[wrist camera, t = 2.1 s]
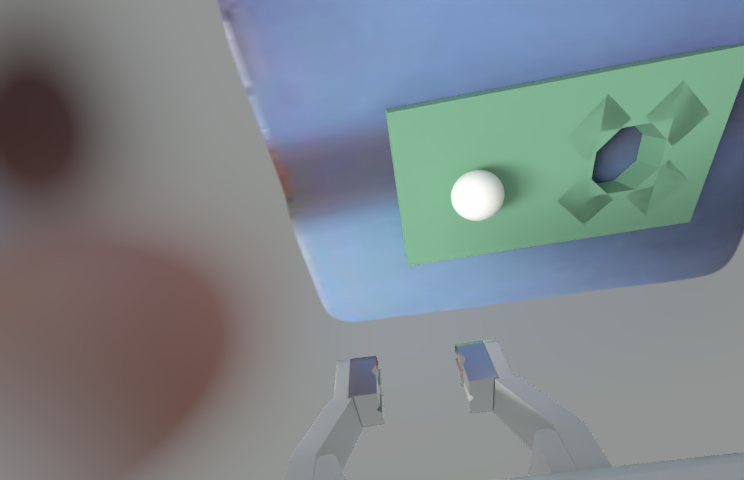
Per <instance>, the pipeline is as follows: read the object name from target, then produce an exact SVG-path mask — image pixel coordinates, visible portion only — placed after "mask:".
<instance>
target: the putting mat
mask: <svg viewBox="0 0 744 480" xmlns="http://www.w3.org/2000/svg"><path fill="white" fill-rule="evenodd" d="M743 77H744V44H743V45H729V46H718V47H712V48H707V49H702V50H696V51H691V52H686V53H681V54H675V55H670V56H665V57H659V58H654V59H649V60H643V61H638V62H633V63H628V64H622V65H617V66H612V67H606V68H601V69H596V70H591V71H585V72H580V73H575V74H569V75H564V76H559V77H553V78H548V79H543V80H538V81H532V82H527V83H522V84H516V85H511V86H506V87H501V88H495V89H490V90H485V91H479V92H474V93H469V94H463V95H458V96H453V97H448V98H442V99H437V100H432V101H426V102H421V103H416V104H411V105H405V106H400V107H395V108H389V109H385V111H386V118H387V125H388V132H389V139H390V146H391V154H392V161H393V168H394V175H395V182H396V189H397V196H398V204H399V211H400V218H401V225H402V232H403V239H404V246H405V253H406V258H407V262H408V266H411V265H417V264H424V263H430V262H437V261H443V260H450V259H456V258H462V257H469V256H475V255H482V254H488V253H495V252H501V251H507V250H514V249H520V248H527V247H533V246H539V245H546V244H552V243H559V242H565V241H572V240H578V239H584V238H591V237H597V236H604V235H610V234H617V233H623V232H629V231H636V230H642V229H649V228H655V227H661V226H668V225H674V224H681V223H687V222H690V220H691V218H692V215H693V212H694V210H695V207H696V204H697V201H698V199H699V196H700V193H701V191H702V188H703V185H704V183H705V180H706V177H707V174H708V172H709V169H710V166H711V164H712V161H713V158H714V155H715V153H716V150H717V147H718V145H719V142H720V139H721V137H722V134H723V131H724V128H725V126H726V123H727V120H728V118H729V115H730V112H731V109H732V107H733V104H734V101H735V99H736V96H737V93H738V90H739V88H740V85H741V82H742V80H743ZM631 126H635V127H636V128H637V129H638V130H639V131H640V132H641V133H642V138H641V143H640V147H639V151H638V155H637V159H636V161H635V162H634V163H633V164H631V165H630V166H629V167H628V168H627V169H626V170H625V171H624V172H623V173H621V174H620V175H619V176H618V177H617V178H616V179H615V180H613V181H607V182H601V183H595V182H594V181H593V180H592V174H593V168H594V163H595V157H596V152H597V151H598V150H599V149H600V148H601V147H602V146H603V145H605V144H606V143H607V142H608V141H609V140H610V139H611V138H612V137H613V136H614V135H615V134H616V133H617V132H618V131H619V130H620V129H621V128H625V127H631ZM473 170H485V171H489V172H491V173H493V174H494V175H496V176H497V177H498V178H499V180H500V181H501V183H502V185H503V187H504V201H503V204H502V206H501V208H500V209H499V210H498V212H497V213H496V214H495V215H493V216H492V217H490V218H488V219H485V220H482V221H471V220H468V219H465V218H463V217H462V216H460V215H459V214H458V213H457V212H456V211H455V209H454V207H453V205H452V202H451V191H452V188H453V185H454V184H455V182H456V181H457V179H458V178H459V177H461V176H462V175H463V174H465V173H467V172H469V171H473Z"/></svg>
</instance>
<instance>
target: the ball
mask: <svg viewBox="0 0 744 480" xmlns="http://www.w3.org/2000/svg"><path fill="white" fill-rule="evenodd" d="M503 201H504V187H503V185H502V183H501V181H500V180H499V178H498V177H497V176H496V175H494V174H493V173H491V172H489V171H485V170H473V171H469V172H467V173H465V174H463V175H462V176H461V177H459V178H458V179H457V181H456V182H455V184H454V185H453V188H452V191H451V202H452V205H453V207H454V209H455V211H456V212H457V213H458V214H459V215H460V216H462V217H463V218H465V219H468V220H471V221H482V220H485V219H488V218H490V217H492V216H493V215H495V214H496V213H497V212H498V210H499V209H500V208H501V206H502V204H503Z"/></svg>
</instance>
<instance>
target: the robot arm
mask: <svg viewBox="0 0 744 480" xmlns="http://www.w3.org/2000/svg"><path fill="white" fill-rule="evenodd" d="M455 352H456V355H457V358H456V367H457V373H458V377H459V380H460V384H461V386H463V387H464V397H465V400H466V403H467V406H468V409H469V412H470V413H480V412H491V411H494V413H495V414H496V415H497V416H498V417H499V418H500V419H501V420H502V421H503V422H504V423H505V424H506V425H507V426H508V427H509V428H510V429H511V430H512V431H513V432H514V433H515V434H516V435H517V436H518V437H519V438H520V439H521V440H522V441H523V442H524V443H525V444H526V446H528V448H529V449H530V450H531V451H532V454H531V460H530V466H529V472H528V474H529V476H523V477H515V478H505V479H496V480H744V452H741V453H732V454H723V455H713V456H704V457H695V458H687V459H677V460H669V461H660V462H650V463H641V464H632V465H624V466H615V467H612V465H611V464H610V462H609V460H608V459H607V457H606V456H605V454H604V452H603V451H602V449H601V448H600V446H599V444H598V443H597V441H596V440H595V438H594V436H593V435H592V433H591V432H590V430H589V428H588V427H587V425H586V424H585V423H584V422H583V421H581V420H580V419H579V418H577V417H576V416H575V415H573V414H572V413H571V412H569V411H568V410H566V409H565V408H564V407H562V406H561V405H559V404H558V403H557V402H555V401H554V400H552V399H551V398H549V397H548V396H547V395H545V394H544V393H542V392H541V391H540V390H538V389H537V388H536V387H534V386H533V385H531V384H530V383H529V382H527V381H526V380H524V379H523V378H522V377H520V376H515V375H514V373H513V371H512V369H511V367H510V365H509V364H508V361H507V359H506V357H505V355H504V353H503V351H502V349H501V347H500V345H499V343H498V341H497V340H496V339H492V340H484V341H475V342H469V343H462V344H456V345H455ZM382 396H383V386H382V378H381V373H380V369H378V360H377V357H376V356H372V357H363V358H355V359H346V360H339V361H338V363H337V368H336V379H335V389H334V400H330V401H329V402H328V404H327V405H326V406H325V408H324V409H323V411H322V412H321V413H320V415H319V416H318V418H317V419H316V421H315V422H314V423H313V425H312V426H311V428H310V429H309V430H308V432H307V433H306V435H305V436H304V437H303V439H302V440H301V442H300V443H299V444H298V446H297V447H296V449H295V450H294V452H293V453H292V454H291V456H290V457H289V461H288V466H287V471H286V476H285V480H346V479H345V476H344V474H343V472H342V470H343V468H344V466H345V464H346V462H347V460H348V458H349V456H350V454H351V452H352V450H353V448H354V445H355V443H356V442H357V440H358V438H359V435H360V433H361V431H362V427H369V426H375V425H382V424H385V418H384V405H383V401H382Z"/></svg>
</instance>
